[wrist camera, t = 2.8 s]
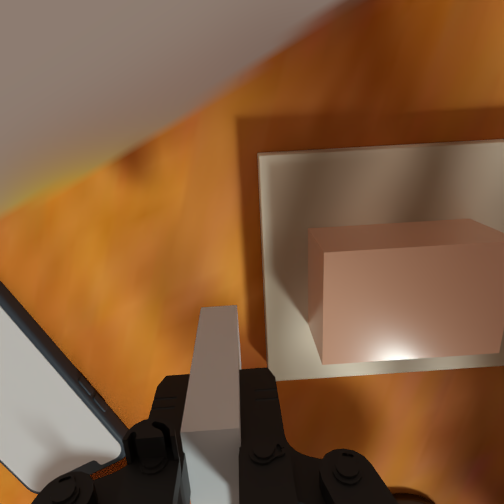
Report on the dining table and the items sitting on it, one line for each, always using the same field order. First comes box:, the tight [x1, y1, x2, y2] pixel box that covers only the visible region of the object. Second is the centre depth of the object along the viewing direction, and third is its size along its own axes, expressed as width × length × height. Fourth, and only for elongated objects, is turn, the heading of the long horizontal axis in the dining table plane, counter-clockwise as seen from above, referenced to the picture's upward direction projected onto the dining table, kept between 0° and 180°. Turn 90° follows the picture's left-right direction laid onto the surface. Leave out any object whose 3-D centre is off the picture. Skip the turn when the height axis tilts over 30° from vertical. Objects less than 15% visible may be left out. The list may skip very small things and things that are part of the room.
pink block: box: [308, 219, 504, 365], centre depth 20 cm, size 9×6×4 cm, turn 93°
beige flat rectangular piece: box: [257, 139, 504, 381], centre depth 23 cm, size 18×14×2 cm
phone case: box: [0, 281, 128, 494], centre depth 25 cm, size 9×2×16 cm
